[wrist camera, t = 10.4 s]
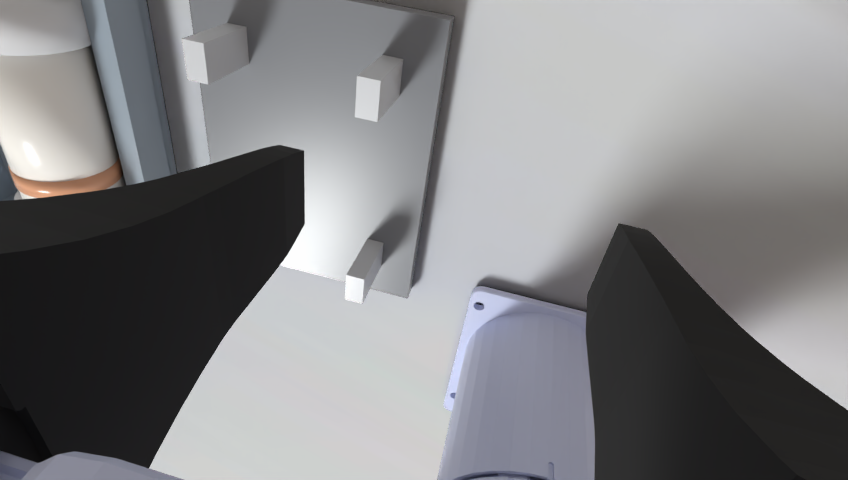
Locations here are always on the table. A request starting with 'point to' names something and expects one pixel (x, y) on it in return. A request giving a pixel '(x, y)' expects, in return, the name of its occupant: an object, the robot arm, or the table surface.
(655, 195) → the table surface
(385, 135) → the fuse holder
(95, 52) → the tray
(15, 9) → the fuse
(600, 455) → the robot arm
